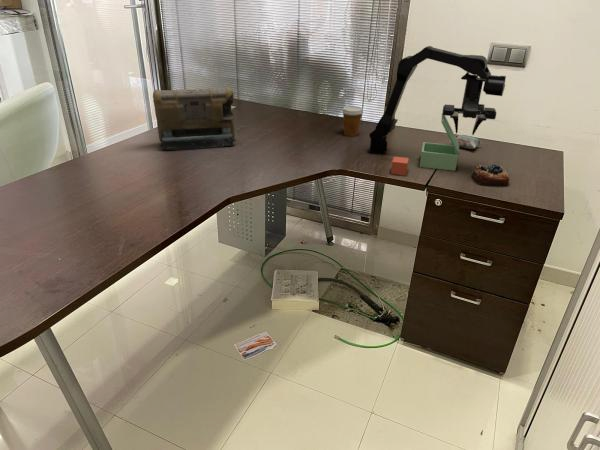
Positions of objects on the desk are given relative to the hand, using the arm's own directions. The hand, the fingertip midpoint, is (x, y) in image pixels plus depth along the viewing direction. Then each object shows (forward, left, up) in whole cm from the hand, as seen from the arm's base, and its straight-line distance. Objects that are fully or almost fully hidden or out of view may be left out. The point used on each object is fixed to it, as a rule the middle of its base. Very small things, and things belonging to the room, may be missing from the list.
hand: (464, 134), depth 173 cm
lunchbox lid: (-6, 0, 0) cm, 6 cm away
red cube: (-22, -14, -13) cm, 29 cm away
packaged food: (+3, +23, -13) cm, 27 cm away
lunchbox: (-8, 0, -13) cm, 15 cm away
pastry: (+11, -11, -13) cm, 20 cm away
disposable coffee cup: (-48, +26, -13) cm, 56 cm away
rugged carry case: (-109, -9, -13) cm, 110 cm away
